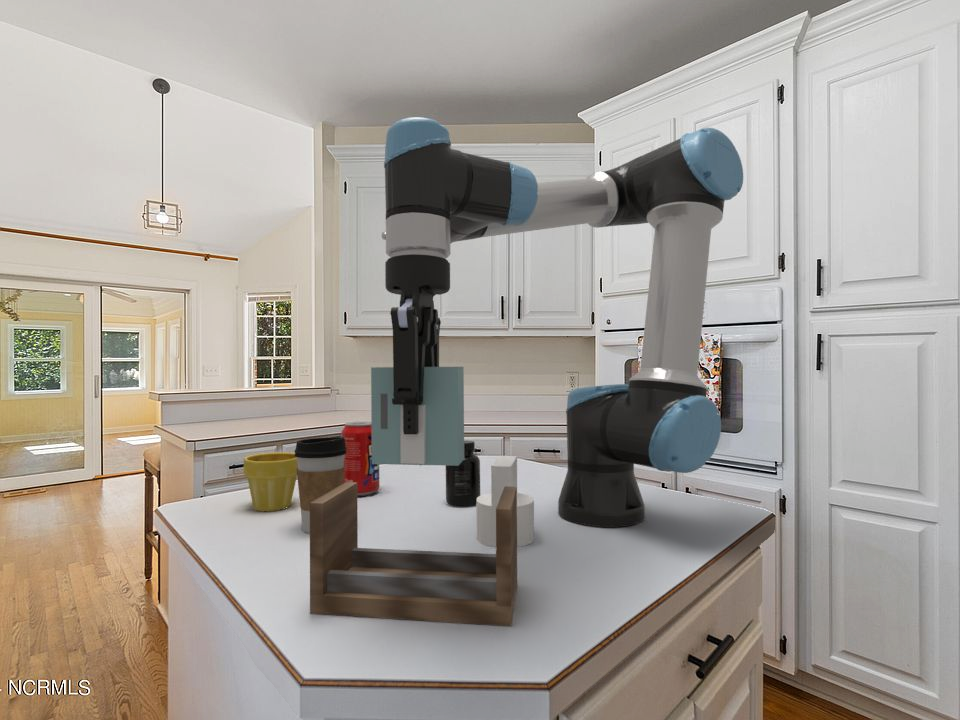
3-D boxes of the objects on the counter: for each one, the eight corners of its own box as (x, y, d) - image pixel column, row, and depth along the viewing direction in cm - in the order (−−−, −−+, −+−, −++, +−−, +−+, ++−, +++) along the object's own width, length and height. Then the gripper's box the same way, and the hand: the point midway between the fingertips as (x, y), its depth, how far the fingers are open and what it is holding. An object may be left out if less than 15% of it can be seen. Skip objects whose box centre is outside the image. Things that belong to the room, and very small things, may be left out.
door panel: (464, 459, 60) (463, 366, 60) (458, 465, 56) (457, 366, 56) (383, 457, 62) (382, 367, 62) (371, 464, 58) (371, 367, 58)
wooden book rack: (517, 584, 62) (516, 486, 62) (511, 626, 52) (510, 509, 52) (346, 575, 65) (346, 482, 65) (310, 613, 55) (309, 503, 55)
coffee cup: (332, 537, 80) (332, 442, 80) (283, 534, 81) (283, 441, 81) (355, 521, 88) (355, 435, 88) (311, 518, 90) (311, 434, 90)
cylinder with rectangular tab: (531, 549, 74) (531, 467, 74) (471, 545, 76) (471, 465, 76) (535, 529, 83) (535, 456, 83) (481, 527, 85) (481, 455, 85)
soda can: (334, 493, 108) (334, 422, 108) (367, 486, 113) (367, 419, 113) (353, 500, 102) (352, 425, 102) (386, 493, 107) (386, 422, 108)
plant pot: (312, 503, 100) (312, 453, 100) (271, 517, 91) (271, 462, 91) (274, 497, 104) (274, 450, 105) (231, 510, 95) (231, 458, 95)
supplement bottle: (487, 501, 101) (486, 440, 101) (467, 509, 95) (467, 445, 95) (458, 496, 104) (458, 438, 104) (438, 504, 98) (438, 442, 99)
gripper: (407, 273, 68) (407, 447, 68) (359, 242, 51) (360, 473, 51) (462, 271, 67) (463, 447, 67) (432, 239, 50) (433, 475, 50)
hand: (418, 458), depth 59 cm, fingers closed on door panel, 4 cm apart
